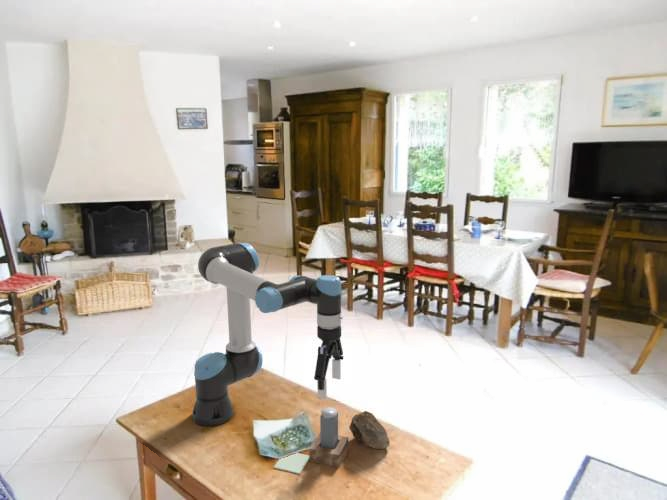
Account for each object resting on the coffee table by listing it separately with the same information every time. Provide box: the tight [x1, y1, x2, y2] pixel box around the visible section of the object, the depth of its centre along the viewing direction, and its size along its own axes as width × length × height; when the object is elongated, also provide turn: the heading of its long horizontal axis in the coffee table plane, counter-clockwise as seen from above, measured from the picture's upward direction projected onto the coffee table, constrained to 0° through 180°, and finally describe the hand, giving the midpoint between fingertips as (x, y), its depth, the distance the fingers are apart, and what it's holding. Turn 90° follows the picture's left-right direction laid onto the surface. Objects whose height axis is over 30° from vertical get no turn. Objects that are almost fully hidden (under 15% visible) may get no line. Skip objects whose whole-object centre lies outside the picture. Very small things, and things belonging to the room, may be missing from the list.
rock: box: [349, 410, 391, 450], centre depth 162 cm, size 15×8×15 cm
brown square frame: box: [309, 432, 349, 468], centre depth 156 cm, size 10×10×4 cm
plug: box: [319, 406, 339, 450], centre depth 155 cm, size 5×5×16 cm
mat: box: [273, 452, 310, 475], centre depth 153 cm, size 9×9×1 cm
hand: (329, 387), depth 152 cm, fingers open, 13 cm apart
